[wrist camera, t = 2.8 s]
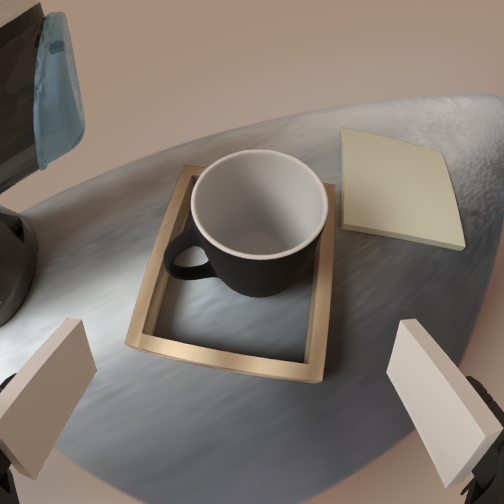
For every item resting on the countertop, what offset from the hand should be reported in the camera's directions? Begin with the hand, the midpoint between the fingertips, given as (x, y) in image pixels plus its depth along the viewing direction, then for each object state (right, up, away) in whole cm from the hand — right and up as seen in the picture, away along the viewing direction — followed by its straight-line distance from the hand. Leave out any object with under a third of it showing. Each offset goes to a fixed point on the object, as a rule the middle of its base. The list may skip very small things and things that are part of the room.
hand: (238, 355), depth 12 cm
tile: (+18, +12, +22) cm, 30 cm away
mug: (0, +2, +17) cm, 17 cm away
